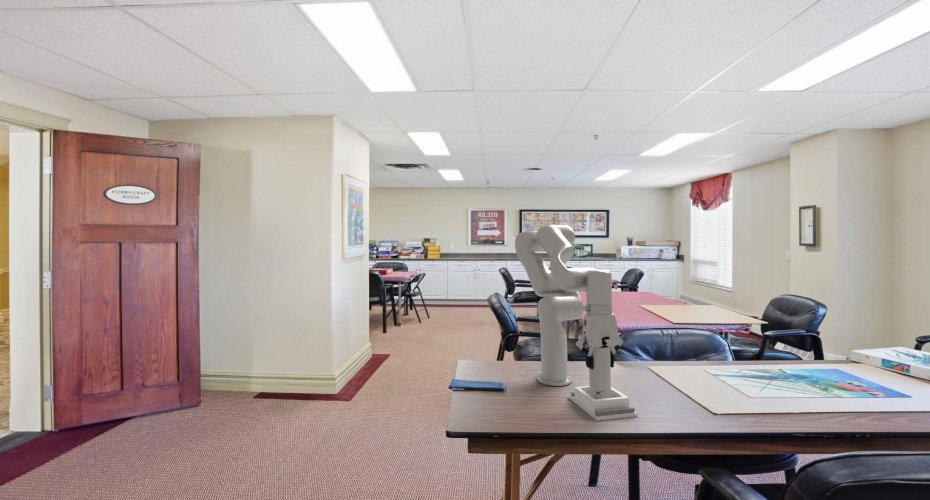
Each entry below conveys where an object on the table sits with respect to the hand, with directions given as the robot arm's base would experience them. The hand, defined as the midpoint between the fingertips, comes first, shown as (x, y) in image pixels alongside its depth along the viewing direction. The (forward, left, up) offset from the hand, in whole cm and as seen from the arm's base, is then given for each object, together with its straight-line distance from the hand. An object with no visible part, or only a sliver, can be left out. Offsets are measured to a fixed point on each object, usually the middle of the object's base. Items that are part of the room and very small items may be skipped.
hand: (600, 366), depth 125 cm
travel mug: (0, 0, -10) cm, 10 cm away
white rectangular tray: (0, 0, -12) cm, 12 cm away
